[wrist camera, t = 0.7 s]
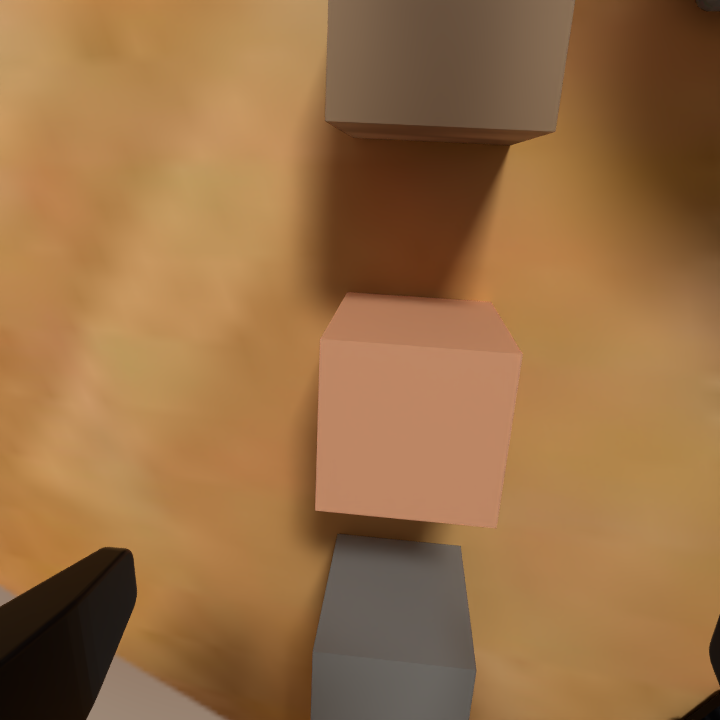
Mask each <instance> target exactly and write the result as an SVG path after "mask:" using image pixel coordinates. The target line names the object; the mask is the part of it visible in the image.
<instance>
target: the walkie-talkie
mask: <svg viewBox="0 0 720 720" xmlns="http://www.w3.org/2000/svg"><path fill="white" fill-rule="evenodd" d="M696 3H697V5H698V7H699V8H701V9H703V10H705V11H720V0H696Z"/></svg>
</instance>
